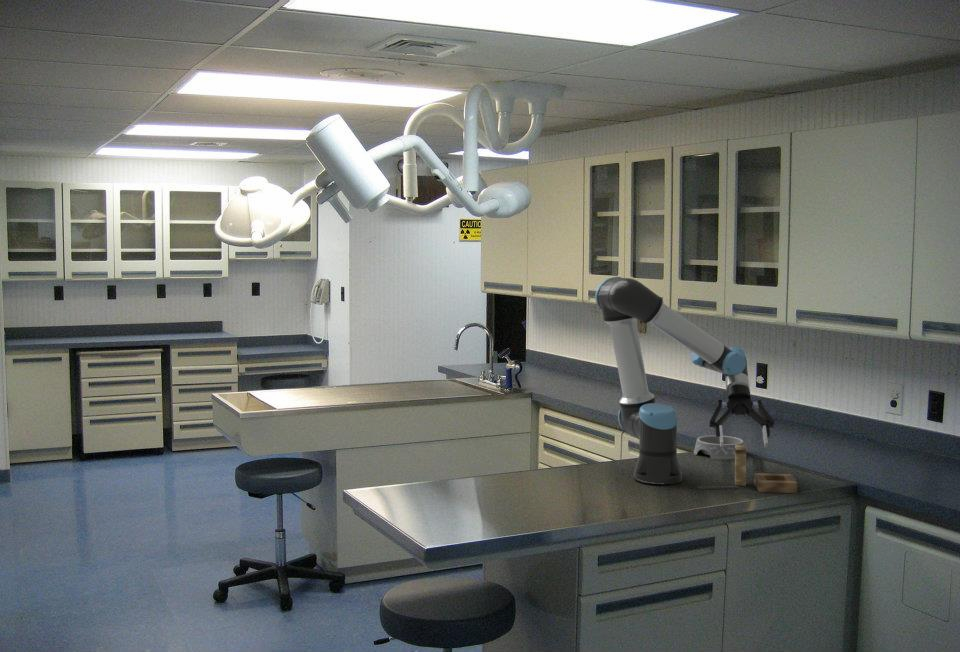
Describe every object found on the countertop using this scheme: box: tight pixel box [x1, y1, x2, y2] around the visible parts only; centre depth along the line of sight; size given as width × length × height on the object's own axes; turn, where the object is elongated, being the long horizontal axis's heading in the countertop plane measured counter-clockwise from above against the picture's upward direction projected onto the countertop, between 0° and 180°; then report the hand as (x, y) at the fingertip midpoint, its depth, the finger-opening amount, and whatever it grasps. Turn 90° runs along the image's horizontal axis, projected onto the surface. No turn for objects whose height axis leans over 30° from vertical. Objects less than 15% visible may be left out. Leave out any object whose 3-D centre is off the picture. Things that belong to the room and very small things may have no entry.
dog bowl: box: [693, 434, 745, 461], centre depth 324 cm, size 17×18×5 cm
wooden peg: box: [734, 444, 747, 487], centre depth 282 cm, size 3×3×12 cm
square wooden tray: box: [753, 472, 798, 494], centre depth 278 cm, size 11×11×3 cm
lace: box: [698, 485, 740, 490], centre depth 278 cm, size 12×1×1 cm, turn 90°
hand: (743, 445), depth 288 cm, fingers open, 13 cm apart
